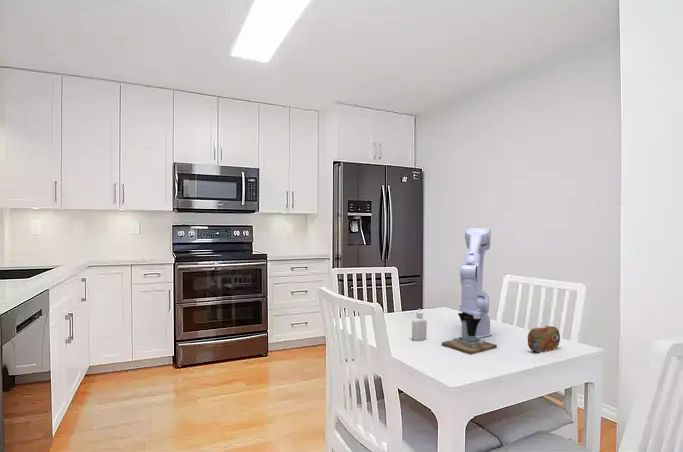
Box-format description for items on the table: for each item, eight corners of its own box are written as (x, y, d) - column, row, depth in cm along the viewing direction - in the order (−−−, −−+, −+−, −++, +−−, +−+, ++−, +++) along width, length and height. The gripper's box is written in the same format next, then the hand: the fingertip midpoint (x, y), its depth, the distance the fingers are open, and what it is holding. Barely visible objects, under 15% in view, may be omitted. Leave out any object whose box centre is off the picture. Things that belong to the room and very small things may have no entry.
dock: (467, 339, 158) (467, 332, 158) (496, 347, 147) (496, 340, 147) (441, 345, 149) (441, 338, 149) (470, 354, 138) (470, 347, 138)
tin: (533, 354, 140) (533, 330, 140) (525, 351, 142) (525, 328, 143) (560, 348, 147) (561, 325, 147) (552, 346, 149) (553, 323, 149)
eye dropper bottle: (411, 337, 159) (412, 307, 159) (426, 338, 158) (426, 307, 158) (412, 340, 155) (412, 309, 155) (426, 341, 154) (427, 310, 154)
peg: (472, 339, 150) (472, 317, 150) (476, 342, 146) (476, 320, 146) (461, 339, 150) (462, 317, 150) (465, 342, 146) (466, 320, 146)
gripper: (488, 300, 141) (488, 339, 141) (472, 294, 156) (471, 329, 155) (468, 300, 141) (468, 339, 140) (454, 294, 155) (454, 329, 155)
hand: (469, 334), depth 148 cm, fingers closed on peg, 4 cm apart
